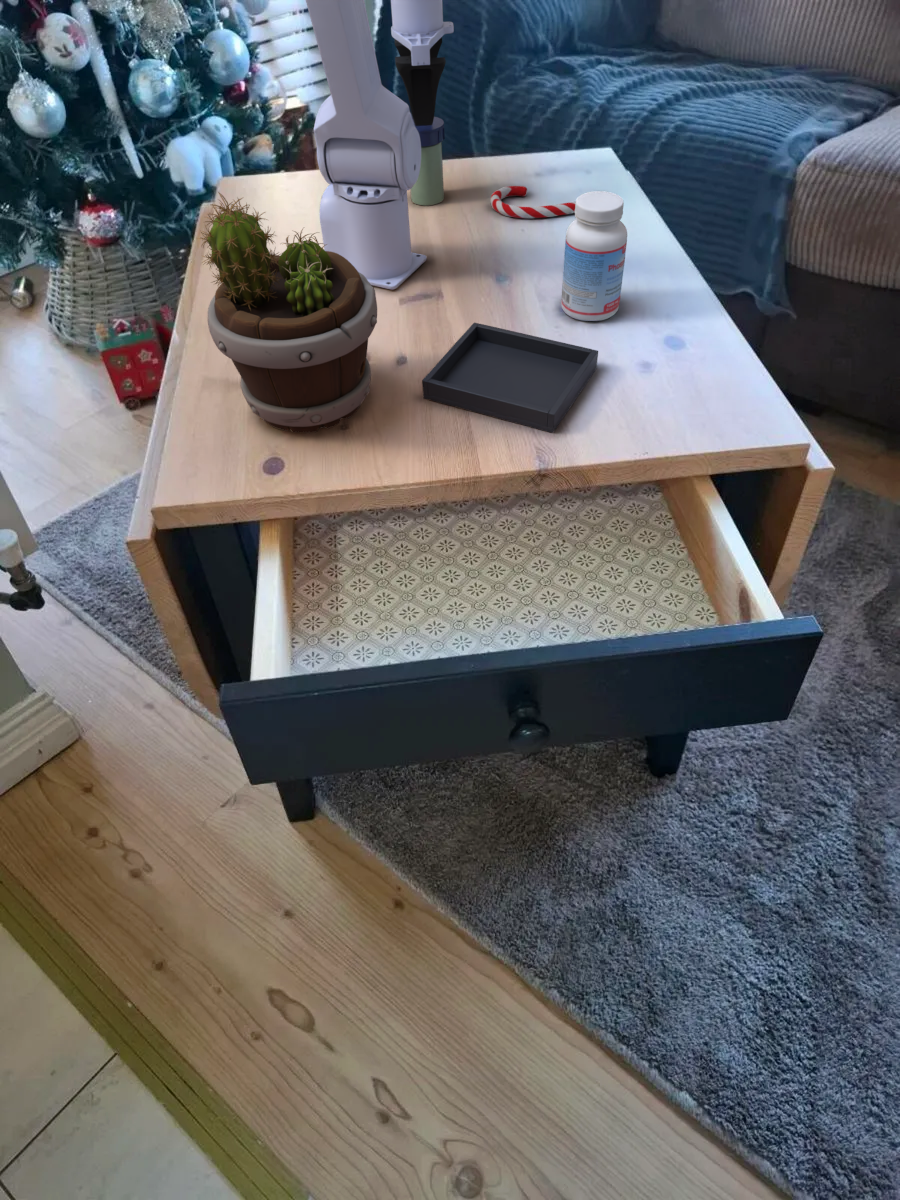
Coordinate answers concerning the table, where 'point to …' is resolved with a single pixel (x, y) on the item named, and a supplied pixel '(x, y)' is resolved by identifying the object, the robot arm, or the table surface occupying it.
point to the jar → (429, 177)
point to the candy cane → (526, 211)
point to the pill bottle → (594, 257)
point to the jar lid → (431, 133)
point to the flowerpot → (289, 323)
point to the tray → (511, 376)
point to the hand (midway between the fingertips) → (422, 115)
